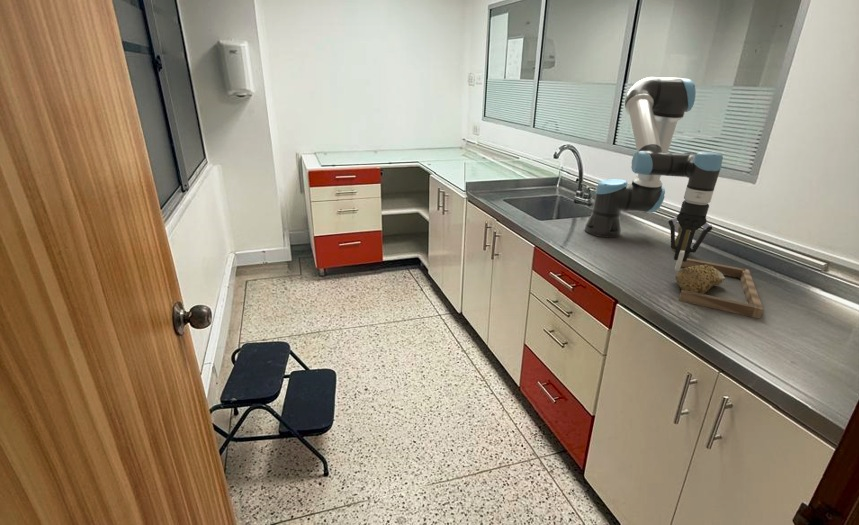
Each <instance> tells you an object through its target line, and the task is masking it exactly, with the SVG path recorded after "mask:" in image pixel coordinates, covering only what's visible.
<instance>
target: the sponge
mask: <svg viewBox="0 0 859 525" xmlns="http://www.w3.org/2000/svg"><path fill="white" fill-rule="evenodd" d="M675 280H676V283H677V285H678V286H679V288H680V289H681V290H687V291H691V292H696V293H701V294H705V293H706V292H708V291H709V290H710V289H711V288H712V287H714V286H719V285H721V284H722V283H723V282H725V281H726V277H725V275H723V274H722V273H721V272H720V271H718V270H717V269H715V268H714V267H713V266H709V265H695V266H691V267H687V268H685V267H683V268H682V269H680V271H678V272H677V273H676V276H675Z"/></svg>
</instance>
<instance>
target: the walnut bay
mask: <svg viewBox="0 0 859 525" xmlns="http://www.w3.org/2000/svg"><path fill="white" fill-rule="evenodd" d="M695 265H709V266H713V267H714V268H715V269H717V270H718V271H720V272H721V273H722V274H723V276H726V275H729V276H728V277H731V276H732V278H736V277H738V279H741V280H740V283H741V286H743V287H742V290H743V289H744V290H743V293H744V292H745V293H744V295H745V296H744V297H745V299H747V300H746V302H748V303H746V302H741V301H737V300H734V299H729V298H728V299H727V298H723V297H719V296H714V295H709V294H705V293H704V294H701V293H696V292H691V291H687V290H683V289H681V291H680V294H679V297H678V301H680V302H684V303H689V304H694V305H696V306H702V307H707V308H711V309H715V310H720V311H724V312H728V313H729V312H730V313H733V314H738V315H742V316H747V317H750V318H751V317H752V318H755V319H761V318H762V315H763V312H764V308H763V304H762V302H761V299H760V296H759V294H758V291H757V289H756V286H755V283H754V280H753V278H752V275H751V272H750V270H749V269H746V268H741V267H736V266H730V265H725V264H720V263H715V262H708V261H705V260H698V259H693V258H688V257H687V261H686V262H683V261H682V264H681V268H687V267H691V266H695Z"/></svg>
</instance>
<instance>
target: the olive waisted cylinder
mask: <svg viewBox="0 0 859 525" xmlns="http://www.w3.org/2000/svg"><path fill="white" fill-rule="evenodd" d="M681 229H682V228H681V226H680V225H679V226H678V228H677V231H678V233H677V236H676V237H675V245H677V244H678V240H679V237H680V233H681ZM689 233H690V230H686V233H685V236H684V239H683V243H682V246H681V250H683V251H685V247H686V244H687V240H688V237H689ZM670 249H671V252H674V253H675V250H674V249H672V248H670Z"/></svg>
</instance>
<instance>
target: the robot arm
mask: <svg viewBox="0 0 859 525" xmlns="http://www.w3.org/2000/svg"><path fill="white" fill-rule="evenodd" d="M696 93H697V92H696V85H695V83H694V81H693V80H692V79H690V78H685V77H684V78H683V77H658V76H657V77H656V76H649V77H645V78H642V79H641V80H638V81H637V82H635V83H634V84H633V86H631V87H630V89H629V90H628V92H627V93H626V96H625V100H624V108H625V112H626V113H627V114H628V115H629V118H630V123H631V129H632V133H633V138H634V143H635V148H636V152H635V153H634V154H633V155H632V159H631V171H632V172H633V173H634V174H637V176H636V177H633V179H632V181H631V183H628V181H627V180H625V179H619V178H610V179H609V178H608V179H603V180H601V181H600V182H598V183H597V185H596V190H595V195H594V201H593V206H592V212H591V214H590V216H589V218H588V220H587V221H586V223H585V227H584V230H585V232H587V233H588V234H589V235H593V236H598V237H603V238H616V237H618V238H619V237H620V236H621V234H622V226H621V213H622V212H637V213H643V214H645V213H651V214H652V213H655V212H657V211H658V210H659V209H660V208H661V207H662V204H663V202H664V200H665V195H666V194H665V193H666V190H665V187H664V186H663V182H662V181H661V177H662V176H667V177H675V178H676V177H677V178H679V177H680V178H688V182H687V185H686V188H685V192H684V195H683V199H684V200H682V203H681V207H680V210H679V213H678V214H677V216H676V217H674V218H669V219H668V225H669V227H670V249H674V250H675V252H674V255H673V260H675V261H676V262H675V266H674V271H678V272H679V271H681V268H682V267H681V264H682V261H683V262H686V261H687V258H688V256H689V254H690V253H691V254H692V253H696V252H697V251H698V250H699V247H700V246H701V244H702V242H703V240H704V239H705V238H706V236H707V235H708V233H709V232H711V231H712V230H713V226H712V224H710V223H708V222H707V214H708V211H709V208H710V203H711V202H712V198H713V194H714V191H715V188H716V184H717V182H718V178H719V175H720V172H721V169H722V164H723V159H724V156H723V154H722V153H720V152H719V153H718V152H715V151H714V152H713V151H698V152H697V153H695V152H683V153H682V152H681V153H679V152H669V150H670V146H671V144H672V140H673V137H674V133H675V131H676V126H677V123H678V121H680V120H681V119H683V118H684V116H685V113H688V112H690V111H691V110H692V108H693V107H694V105H695V101H696ZM677 222H678V224H679V226H681V228H682V229H681V233H680V237H679V240H678V244H677V245H675V240H676V228H675V227H676V224H677ZM701 227H702V228H703V229H702V231H701V232H700V233H699V236H698V237H697V238H696V241H695V242H694V243H693V239H694V237H695V233H696V231H698V230H699V229H700V228H701ZM686 230H690V233H689V237H688V240H687V244H686V247H685V251H683V250H681V246H682V243H683V239H684V236H685V233H686ZM692 243H693V246H692Z"/></svg>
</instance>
